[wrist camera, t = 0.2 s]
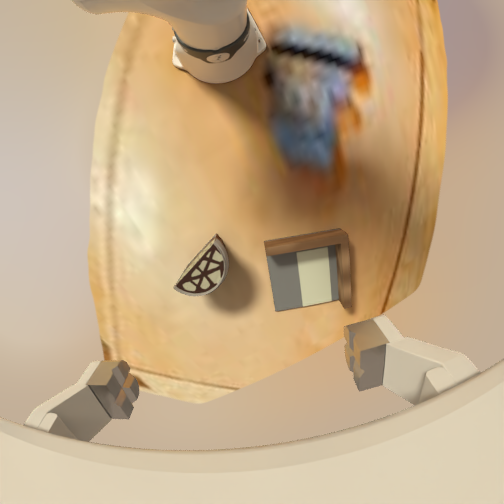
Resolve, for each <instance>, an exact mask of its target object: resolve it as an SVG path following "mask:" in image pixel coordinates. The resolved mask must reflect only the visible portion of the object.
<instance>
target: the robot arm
mask: <svg viewBox="0 0 504 504" xmlns="http://www.w3.org/2000/svg"><path fill="white" fill-rule="evenodd" d="M72 2H73V3H74V4H76V6H78V7H79V8H81V9H82V10H84V11H87V12H89V13H92V14H105V13H113V12H135V13H142V14H147V15H151V16H155V17H158V18H161V19H163V20H165V21H167V22H168V23H169V24H170V25H171V26H172V30H173V31H174V34H175V36H173V43H174V51H173V65H174V66H175V67H177V68H180V69H184V70H186V71H188V72H189V73H190V74H191V75H193V76H194V77H195V78H197V79H199V80H201V81H204V82H208V83H225V82H229V81H232V80H235V79H237V78H239V77H240V76H242V75H243V74H245V73H246V72H247V71H248V70H249V68H250V67H251V66H252V64H253V62H254V60H255V59H256V57H257V56H258V55H260V54H261V53H262V52H263V51H265V49H266V42H265V40H264V38H263V37H262V35H261V33H260V31H259V29H258V27H257V25H256V23H255V21H254V19H253V17H252V16H251V14H250V12H249V10H248V8H247V0H72ZM258 40H259V41H260V42H258ZM177 57H178V58H177ZM344 337H345V339H346V341H347V343H346V345H345V357H346V362H347V365H348V367H349V370H350V371H352V372H354V381H355V383H356V385H357V387H358V390H359V391H363V390H366V389H369V388H373V387H377V386H380V385H383V386H384V387H385V388H387V389H388V390H390V391H392V392H393V393H395V394H397V395H398V396H400V397H402V398H404V399H405V400H407V401H409V402H410V403H412V404H414V405H415V406H413V407H410V408H407V409H405V410H402V411H400V412H397V413H395V414H392V415H389V416H386V417H383V418H380V419H377V420H374V421H371V422H368V423H365V424H362V425H359V426H355V427H352V428H348V429H345V430H341V431H337V432H333V433H329V434H325V435H321V436H316V437H311V438H306V439H301V440H296V441H290V442H285V443H278V444H272V445H263V446H255V447H246V448H235V449H220V450H187V451H186V450H154V449H140V448H130V447H121V446H112V445H106V444H99V443H92V442H89V441H90V440H91V439H92V438H93V437H94V436H95V435H96V434H97V433H98V432H99V431H100V430H101V429H102V428H103V427H104V426H105V425H106V424H108V423H109V422H110V421H111V419H129V418H130V415H131V413H132V410H133V408H134V407H133V405H132V403H133V402H134V401H136V400H137V398H138V395H139V385H138V382H137V380H136V378H135V377H134V376H133V375H131V374H130V373H129V372H130V367H129V366H128V364H127V362H125V361H123V360H111V361H93V362H91V363H90V365H89V366H88V368H87V369H86V370H85V372H84V373H83V375H82V376H81V378H80V379H79V381H78V382H77V384H76V385H72V386H70V387H69V388H67V389H65V390H64V391H62V392H61V393H59V394H57V395H56V396H54V397H53V398H51V399H49V400H48V401H46V402H45V403H43V404H42V405H40V406H38V407H36V408H35V409H34V410H33V412H32V413H31V415H30V416H29V418H28V419H27V421H26V422H25V424H24V425H21V424H18V423H15V422H12V421H9V420H7V419H4V418H1V417H0V504H504V359H502V360H501V361H499V362H498V363H496V364H495V365H493V366H491V367H490V368H488V369H486V370H485V371H483V372H480V371H479V370H478V369H477V368H476V367H475V366H474V364H473V363H472V362H471V361H470V360H469V359H468V358H467V357H466V356H465V355H464V354H463V353H459V352H456V351H452V350H449V349H446V348H443V347H439V346H436V345H433V344H430V343H427V342H423V341H420V340H417V339H414V338H410V337H406V338H404V337H403V335H402V334H401V333H400V332H399V331H398V329H397V328H396V327H395V326H394V325H393V324H392V322H391V321H390V320H389V319H388V318H387V316H386V315H384V314H383V315H380V316H377V317H374V318H371V319H369V320H365V321H362V322H358V323H355V324H351V325H347V326H344Z"/></svg>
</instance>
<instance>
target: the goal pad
mask: <svg viewBox="0 0 504 504" xmlns="http://www.w3.org/2000/svg"><path fill="white" fill-rule="evenodd" d="M296 254H297V261H298V269H299V277H300V286H301V294H302V303H303V306H309V305H314V304H319V303H324V302H329V301H332V297H331V282H330V268H329V257H328V247H324V248H318V249H312V250H307V251H301V252H296Z"/></svg>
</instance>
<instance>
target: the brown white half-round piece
mask: <svg viewBox="0 0 504 504" xmlns="http://www.w3.org/2000/svg"><path fill="white" fill-rule="evenodd" d="M228 268H229V260H228V255H227V252H226V250H225V247H224V244H223V242H222V240H221V238H220V237H219V236H218V235H217V234H215V235H214V237H213V238H212V239H211V240H210V241H209V242H208V243H207V244H206V245H205V246H204V248H203V249H202V250H201V251H200V252H199V253H198V254H197V255H196V256H195V258H194V259H193V260H192V261H191V262H190V263H189V264H188V265H187V267H186V269H185V270H184V272H183V273H182V275H181V277H180V278H179V280H178V282H177V283H176V285H174V289H175V290H176V291H178V292H180V293H182V294H185V295H189V296H202V295H206V294H209V293H211V292H213V291H214V290H216V289H217V288H218V287H219V286H220V285H221V284H222V282H223V281H224V279H225V278H226V276H227V273H228Z"/></svg>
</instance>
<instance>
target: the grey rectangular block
mask: <svg viewBox="0 0 504 504" xmlns="http://www.w3.org/2000/svg"><path fill="white" fill-rule="evenodd" d="M334 230H338V229H334ZM327 231H332V230H327ZM321 232H326V231H321ZM316 233H320V232H316ZM310 234H314V233H310ZM304 235H308V234H304ZM298 236H302V235H298ZM292 237H296V236H292ZM286 238H290V237H286ZM280 239H284V238H280ZM274 240H278V239H274ZM268 241H272V240H268ZM264 242H266V241H264ZM324 247H328V257H329V268H330V282H331V297H332V301H333V300H338V299H339V295H338V277H337V263H336V250H335V245H329V246H324ZM324 247H318V248H324ZM318 248H312V249H318ZM312 249H306V250H301V251H307V250H312ZM301 251H295V252H289V253H283V254H278V255H272V256H267V255H266V256H267V262H268V268H269V274H270V280H271V286H272V292H273V298H274V304H275V311H281V310H287V309H292V308H298V307H303V303H302V294H301V286H300V277H299V269H298V261H297V254H296V252H301Z"/></svg>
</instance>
